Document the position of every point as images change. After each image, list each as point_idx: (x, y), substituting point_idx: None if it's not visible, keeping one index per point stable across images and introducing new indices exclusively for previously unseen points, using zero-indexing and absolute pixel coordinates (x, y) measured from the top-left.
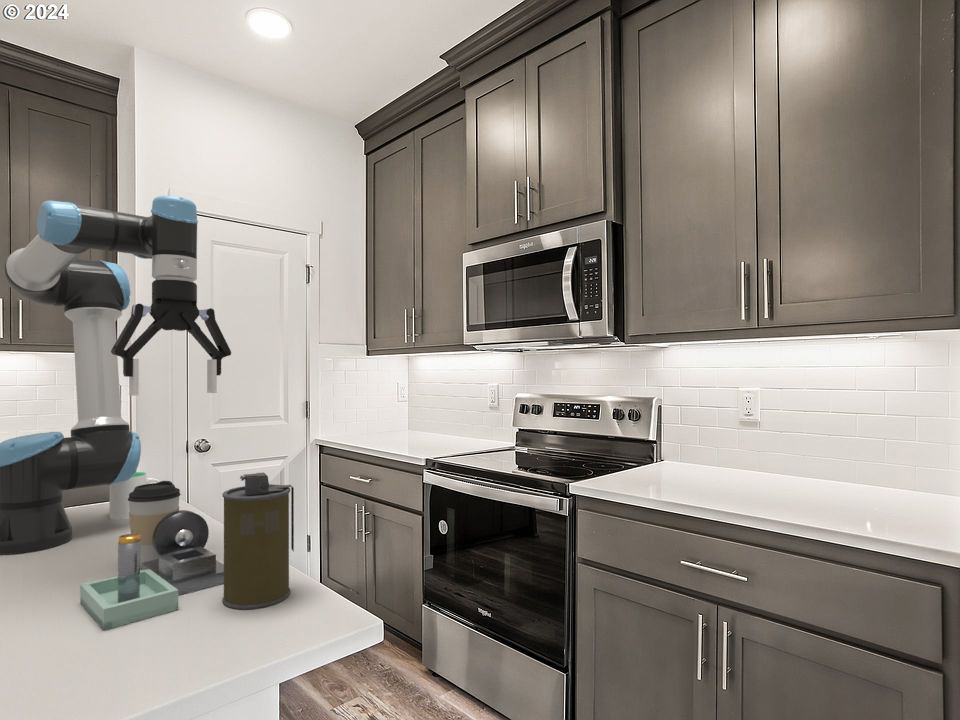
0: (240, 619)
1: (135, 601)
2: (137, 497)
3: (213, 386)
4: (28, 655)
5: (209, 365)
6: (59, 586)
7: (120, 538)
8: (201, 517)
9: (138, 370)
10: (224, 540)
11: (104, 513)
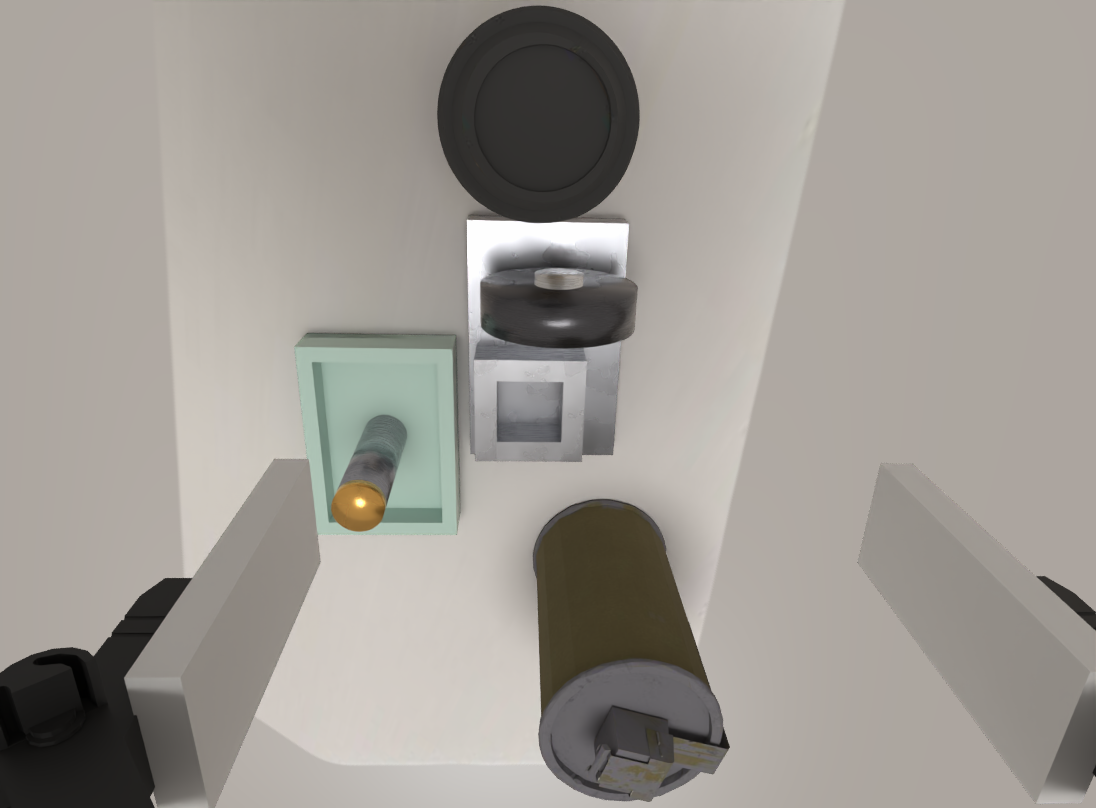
0: (526, 624)
1: (373, 534)
2: (458, 169)
3: (887, 596)
4: (209, 525)
5: (1014, 676)
6: (276, 153)
7: (334, 514)
8: (617, 341)
9: (255, 711)
10: (543, 627)
11: None
